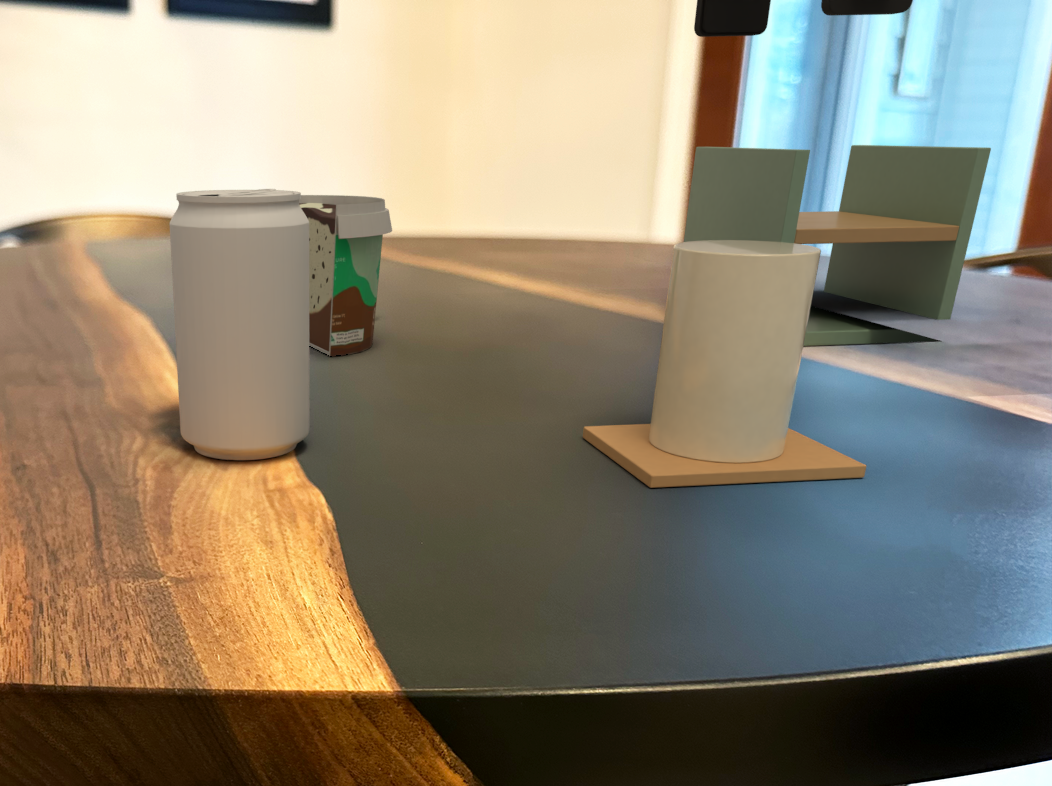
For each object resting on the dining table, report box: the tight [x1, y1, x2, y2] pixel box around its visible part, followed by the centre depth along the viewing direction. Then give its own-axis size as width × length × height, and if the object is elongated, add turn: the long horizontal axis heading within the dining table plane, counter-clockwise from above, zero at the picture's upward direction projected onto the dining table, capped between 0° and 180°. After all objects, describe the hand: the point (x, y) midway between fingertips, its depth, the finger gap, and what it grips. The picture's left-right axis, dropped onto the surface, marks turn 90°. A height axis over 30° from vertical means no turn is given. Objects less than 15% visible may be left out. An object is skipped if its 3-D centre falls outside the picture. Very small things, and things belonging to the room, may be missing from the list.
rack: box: [683, 144, 992, 347], centre depth 76 cm, size 14×14×13 cm
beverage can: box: [169, 188, 310, 461], centre depth 48 cm, size 6×6×12 cm
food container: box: [299, 194, 393, 357], centre depth 73 cm, size 12×6×10 cm, turn 22°
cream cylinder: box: [649, 240, 822, 463], centre depth 46 cm, size 6×6×9 cm
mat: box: [582, 423, 867, 489], centre depth 48 cm, size 10×8×1 cm
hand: (789, 25), depth 41 cm, fingers open, 9 cm apart
